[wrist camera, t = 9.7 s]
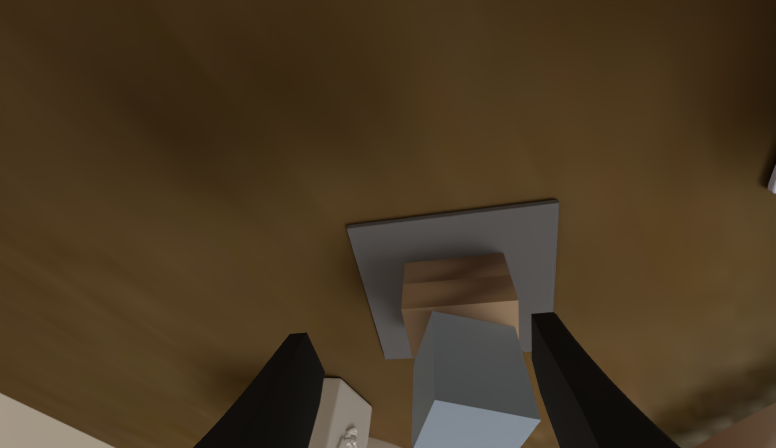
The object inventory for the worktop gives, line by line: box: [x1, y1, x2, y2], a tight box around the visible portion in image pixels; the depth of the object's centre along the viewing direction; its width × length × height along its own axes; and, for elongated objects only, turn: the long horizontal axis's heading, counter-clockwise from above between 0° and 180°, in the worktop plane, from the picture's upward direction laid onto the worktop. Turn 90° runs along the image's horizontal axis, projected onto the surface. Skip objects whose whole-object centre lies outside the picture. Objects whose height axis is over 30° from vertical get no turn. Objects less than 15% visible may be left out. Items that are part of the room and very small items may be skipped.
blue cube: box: [411, 311, 541, 448], centre depth 18 cm, size 4×4×5 cm
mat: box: [347, 199, 559, 359], centre depth 24 cm, size 12×12×1 cm
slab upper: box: [401, 275, 519, 362], centre depth 21 cm, size 6×6×2 cm
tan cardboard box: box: [403, 253, 510, 284], centre depth 23 cm, size 6×6×2 cm
